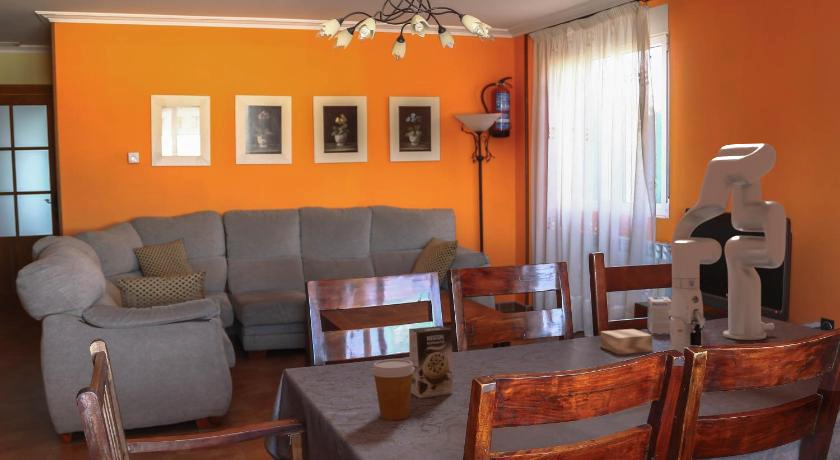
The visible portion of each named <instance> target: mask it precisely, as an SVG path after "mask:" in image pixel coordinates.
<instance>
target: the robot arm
mask: <svg viewBox="0 0 840 460" xmlns="http://www.w3.org/2000/svg"><path fill="white" fill-rule="evenodd" d="M776 162H777V152H776V150H775V148H774V147H773V146H772V144H771V145H770V144H768V143H744V144H742V143H739V144H738V143H737V144H729V145H725V146H722V147H721V148H720V149H719V150H718V152H717V157H715V158H713V159H712V158H711V160H710V161H709V162H708V164H707V167H706V169H705V173H704V177H703V181H702V184H701V188H700V193H699V195H698V198H697V202H696V203H695V204H694V205H692V207H691V208H689V209H688V210H687V211H686V212H685V213H684V215H683V216H682V217H681V218H680V219H679V221H678V222H677V223H676V225H675V227H674V231H673V235H672V239H671V243H670V255H671V289H672V290H671V299H670V300H671V308H670V309H668V314H669V319H670V317H675V318H678V319H681V320H683V321H684V323H685V324H687V325H689V326H690V329H691V331H692V332H690V346H691V345H701V332H702V333H703V329H704V327H705V323H706V318H705V317H704V305H703V296H702V291H701V289H700V285H701V284H700V265H712V264H714V263H717V262H718V261H719V260H720V258H721V257H722V252H723V249H722V245H721V244H720V242H719V241H717V240H716V239H714V238H709V237H696V236H695V237H694V236H692V233H693V232H694V231H695V229H696V228H697V227H698V226H699V225H701V224H703V223H705V222H707V221H709V220H711V219H713V218H715V217H716V218H717V217H718V216H720V215H723V214H724V213H725V212H726V211H727V209H728V207H729V202H730V199H731V218H730V219H731V225H732V227H733V229H735V230H737V231H740V232H749V233H750V232H751V233H752V232H753V233H754V232H756V233H764V236H756V235H755V236H754V235H735V236H732V237H731V238H729V239H728V240H727V241H726V243H725V246H724V256H725V261H726V266H727V283H728V284H727V288H728V289H727V291H728V293H727V295H728V296H727V301H728V302H727V303H728V305H727V306H728V307H727V310H728V312H727V315H728V316H727V317H728V318H727V320H728V322H727V323H728V325H727V327H728V329H727V330H724V331H723V332H722V335H723V337H724V338H727V339H731V340H737V341H738V340H739V341H740V340H741V341H756V340H757V341H758V340H763V339H766V338H767V333H766V332H765V331H766V330H774V329H775V324H774V323H773V322H770V323H769V322H767V323H765V322H763V321H762V305H761V304H762V296H761V295H762V283H761V278H760V275H759V273H758V271H756V269H755V268H762V269H777V268H779V267H781V266H782V265H783V262H784V259H785V257H786V256H785V254H786V237H787V235H786V234H787V214H786V210H785V207H784V206H783V205H782V203H780V202H777V201H775V200H774V201H773V200H762V183H761V178H763V177H764V176H765V175H767V174H768V173H770V172H771V170H773V168H774V167H775V164H776ZM695 320H696V321H695ZM691 321H694V322H691ZM694 325H696V326H695V328H694Z"/></svg>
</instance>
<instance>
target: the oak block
mask: <svg viewBox="0 0 840 460" xmlns="http://www.w3.org/2000/svg"><path fill="white" fill-rule="evenodd" d="M600 347H601V348H603V349H606V350H607V351H610V352H612V353H615V354H617V355H623V354H635V353H646V352H653V334H651V333H646V332H644V331H641V330H638V329H635V328H629V329H614V330H602V331H600Z"/></svg>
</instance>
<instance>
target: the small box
mask: <svg viewBox="0 0 840 460" xmlns="http://www.w3.org/2000/svg"><path fill="white" fill-rule="evenodd" d="M695 321H696V320H695ZM691 322H694V321H691ZM695 326H696V325H694V328H695ZM690 332H692V331H691V329H690V326H689V325H687V324H685V323H684V321H683V320H681V319H678V318H675V317H670V334H669V335H670V336H669V337H670V338H669V339H670V340H669V341H670V342H669V343H670V350H671V349H677V350H679V351H682V350H683V348H684V347H687V346H690ZM701 345H702V346H703V331H702V332H701Z"/></svg>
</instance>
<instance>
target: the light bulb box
mask: <svg viewBox="0 0 840 460" xmlns="http://www.w3.org/2000/svg"><path fill="white" fill-rule="evenodd" d="M670 308H671V299H670V298H669V296H647V328H648V329H647V330H648V331H649V332H651V333H670V319H669V314H668V309H670ZM651 333H650V334H651Z"/></svg>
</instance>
